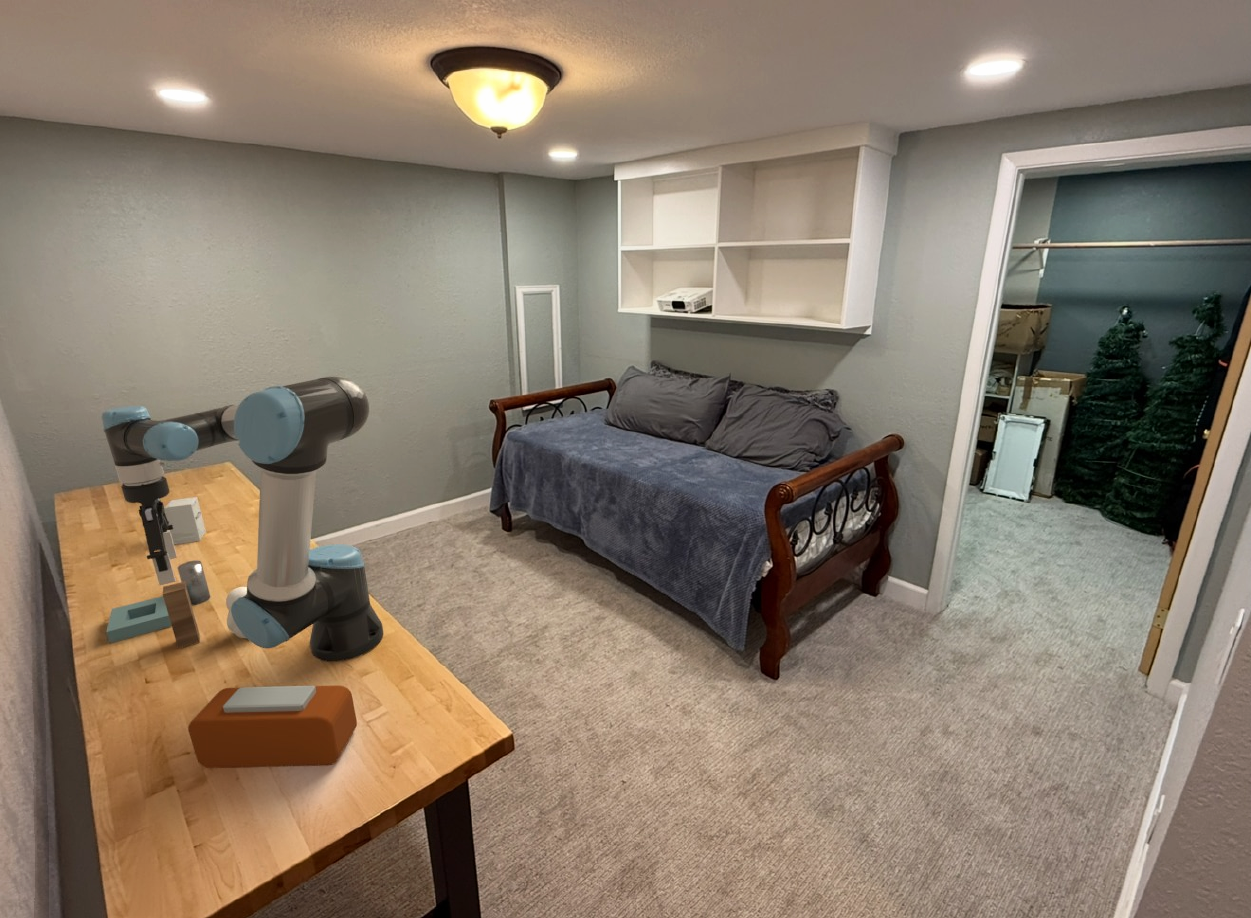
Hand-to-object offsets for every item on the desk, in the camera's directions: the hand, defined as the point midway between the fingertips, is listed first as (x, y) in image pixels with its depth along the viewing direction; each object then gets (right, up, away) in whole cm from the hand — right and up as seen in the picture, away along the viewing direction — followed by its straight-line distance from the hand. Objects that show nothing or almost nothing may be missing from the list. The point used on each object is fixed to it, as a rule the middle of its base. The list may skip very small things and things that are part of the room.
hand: (168, 570), depth 131 cm
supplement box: (-39, -1, +59) cm, 70 cm away
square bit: (0, -17, +6) cm, 18 cm away
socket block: (-16, -15, +13) cm, 26 cm away
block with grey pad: (+40, -27, -25) cm, 55 cm away
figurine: (+12, -16, +9) cm, 22 cm away
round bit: (-10, -12, +23) cm, 28 cm away
